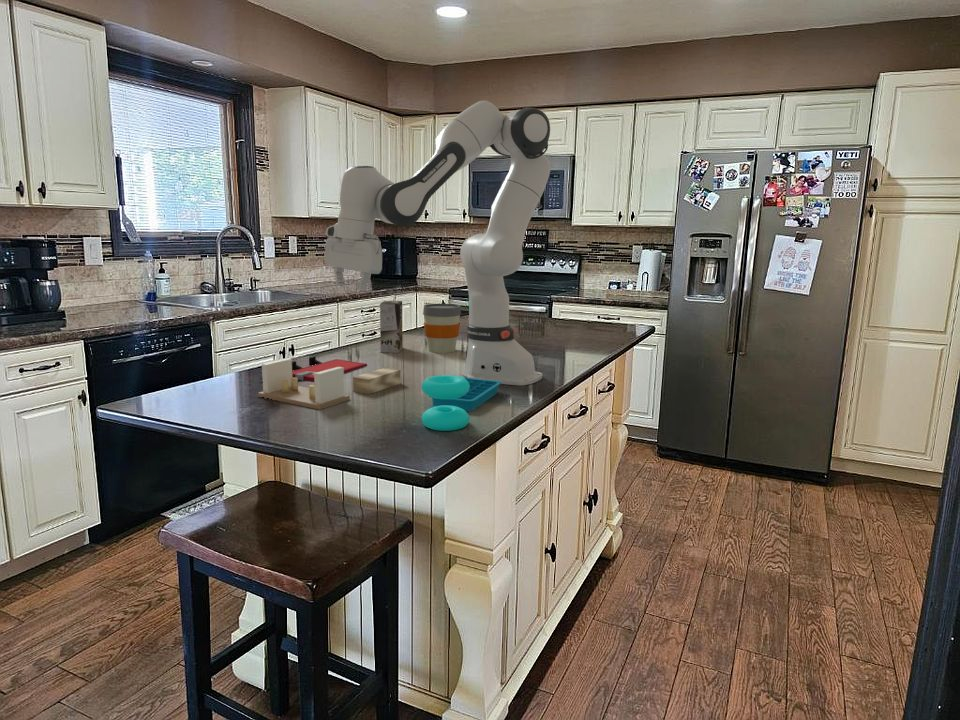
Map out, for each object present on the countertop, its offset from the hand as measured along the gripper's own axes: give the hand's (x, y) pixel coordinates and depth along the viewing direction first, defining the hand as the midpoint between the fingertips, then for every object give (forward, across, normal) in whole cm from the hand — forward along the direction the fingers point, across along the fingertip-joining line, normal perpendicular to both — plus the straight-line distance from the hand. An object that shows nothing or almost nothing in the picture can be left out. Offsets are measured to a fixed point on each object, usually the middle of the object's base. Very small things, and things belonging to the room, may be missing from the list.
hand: (350, 288), depth 161 cm
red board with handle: (+27, +18, -3) cm, 32 cm away
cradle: (+27, -3, +13) cm, 30 cm away
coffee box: (+23, +30, -39) cm, 54 cm away
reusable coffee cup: (+21, +19, -51) cm, 59 cm away
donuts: (+24, -42, +2) cm, 48 cm away
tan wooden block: (+25, -6, -6) cm, 27 cm away
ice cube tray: (+23, -30, -16) cm, 41 cm away
